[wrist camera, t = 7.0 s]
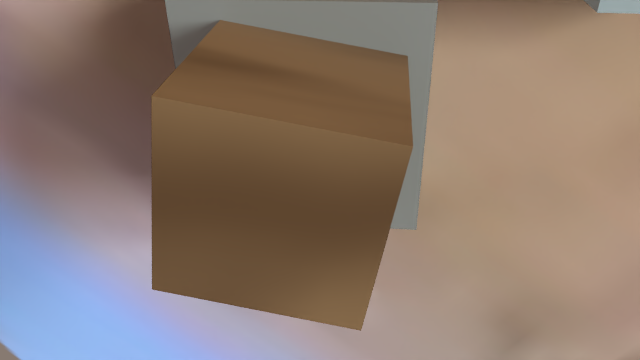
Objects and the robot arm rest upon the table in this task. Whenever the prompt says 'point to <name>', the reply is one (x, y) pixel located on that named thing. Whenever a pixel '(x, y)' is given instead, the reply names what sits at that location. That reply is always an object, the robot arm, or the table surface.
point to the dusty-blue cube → (615, 6)
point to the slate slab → (343, 27)
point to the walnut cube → (278, 172)
